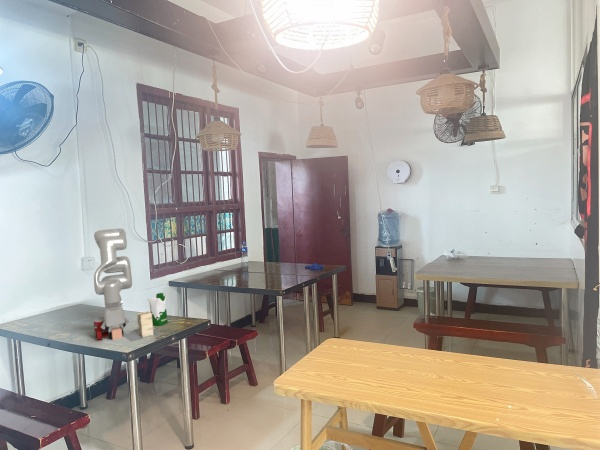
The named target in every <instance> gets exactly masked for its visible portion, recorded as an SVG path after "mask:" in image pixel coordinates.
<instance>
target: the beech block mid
mask: <svg viewBox="0 0 600 450" xmlns="http://www.w3.org/2000/svg"><path fill="white" fill-rule="evenodd" d="M136 317H137V326H138V325H140V326H145V325H150V324H153V323H152V313H150V311H144V312H143V311H142V312H138V313H137V314H136Z"/></svg>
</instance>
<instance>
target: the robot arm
mask: <svg viewBox="0 0 600 450" xmlns="http://www.w3.org/2000/svg"><path fill="white" fill-rule="evenodd" d="M93 238H94V241H95V244H96V245H97V248H98V249H99V252H100V265H99V266H98V267H97V268H96V270H95V272H94V275H93V286H94V287H93V288H94V292H95V294H96V295H98V296H102V295H103V297H104V298H103V299H104V300H103V301H104V309H103V317H104V322H103V324H102V326H101V328H102V329H104V330H106V331H108V336H107V337H108V338H109V339H110V340H112V332H111V329H114V328H118V327H119V328H121V329H122V338H123V337H124V336H123V334H125V333H124V330H125V328H126V326H127V324H128V323H130V321H129V319H127V318H126V316H125V312H124V309H123V308H124V307H123V304H124V301H123V300H122V297H121V295H120V293H121V292H122V290H128V289H131V288H132V286H133V277H132V268H131V262H130V259H129V257H128V256H127V255H126V256H124V255H123V256H117V251H124V250H126V249H127V247H128V242H127V234H126V231H125V229H123V228H113V229H112V228H111V229H110V228H109V229H100V230H96V231H95V232H94V233H93ZM102 273H105V274H111V275H106V276H103V278H102V279H101V280H100V276H101V274H102ZM114 273H115V274H114ZM116 273H120V274H116ZM121 273H122V274H121ZM105 325H106V326H107V327H108V328H106V327H105Z"/></svg>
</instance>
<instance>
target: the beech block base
mask: <svg viewBox="0 0 600 450" xmlns="http://www.w3.org/2000/svg"><path fill="white" fill-rule="evenodd" d="M137 326H138V329H137V330H139V335H140V336H142V337H145V336H149V335H153V330H154V326H153V324H150V325H145V326H140V325H138V324H137Z"/></svg>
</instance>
